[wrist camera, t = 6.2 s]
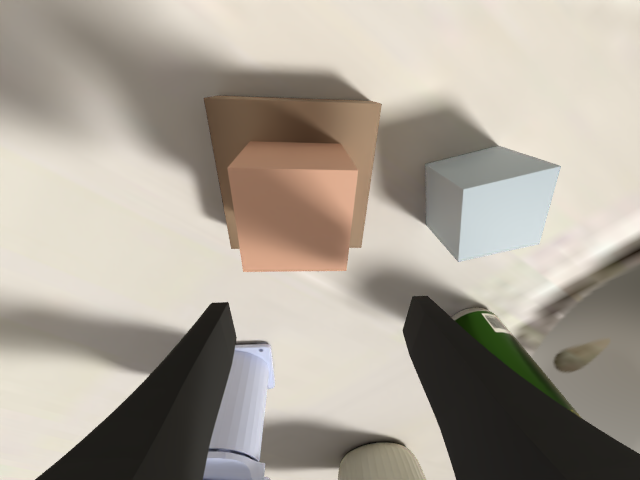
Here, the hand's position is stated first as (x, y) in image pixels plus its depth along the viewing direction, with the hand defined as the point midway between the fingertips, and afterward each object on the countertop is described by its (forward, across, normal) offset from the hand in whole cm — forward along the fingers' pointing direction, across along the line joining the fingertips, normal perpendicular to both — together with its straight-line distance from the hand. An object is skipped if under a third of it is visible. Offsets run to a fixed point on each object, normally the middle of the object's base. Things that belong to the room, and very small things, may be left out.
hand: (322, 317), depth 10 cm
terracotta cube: (+8, +1, -3) cm, 8 cm away
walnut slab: (+10, +1, -3) cm, 11 cm away
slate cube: (+10, -11, -2) cm, 15 cm away
